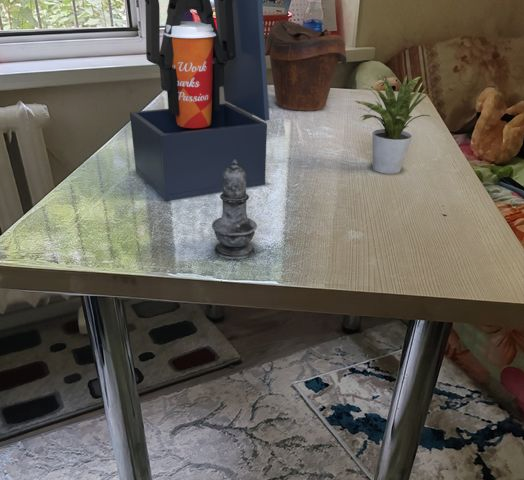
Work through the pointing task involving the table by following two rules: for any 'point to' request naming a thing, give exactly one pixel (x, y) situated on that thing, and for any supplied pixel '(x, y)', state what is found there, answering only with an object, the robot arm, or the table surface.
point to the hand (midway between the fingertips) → (194, 110)
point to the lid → (247, 59)
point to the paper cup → (193, 72)
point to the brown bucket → (303, 64)
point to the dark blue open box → (197, 151)
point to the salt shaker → (234, 217)
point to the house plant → (392, 125)
